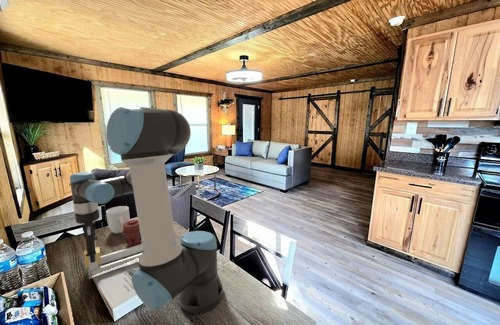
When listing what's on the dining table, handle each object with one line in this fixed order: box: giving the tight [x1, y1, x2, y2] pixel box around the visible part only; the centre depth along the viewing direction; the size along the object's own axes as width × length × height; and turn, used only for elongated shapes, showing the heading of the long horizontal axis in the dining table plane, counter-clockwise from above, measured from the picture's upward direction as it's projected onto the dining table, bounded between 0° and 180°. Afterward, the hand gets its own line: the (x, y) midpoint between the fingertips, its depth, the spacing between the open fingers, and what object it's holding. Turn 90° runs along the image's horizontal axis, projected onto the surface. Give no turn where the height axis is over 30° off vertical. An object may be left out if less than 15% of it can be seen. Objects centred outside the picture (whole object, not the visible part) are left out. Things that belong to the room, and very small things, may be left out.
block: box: [83, 246, 102, 269], centre depth 86 cm, size 5×5×5 cm
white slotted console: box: [87, 243, 143, 280], centre depth 92 cm, size 9×21×4 cm, turn 127°
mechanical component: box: [121, 219, 142, 247], centre depth 106 cm, size 12×10×10 cm
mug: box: [105, 205, 131, 234], centre depth 118 cm, size 15×11×13 cm
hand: (93, 261), depth 86 cm, fingers open, 10 cm apart
